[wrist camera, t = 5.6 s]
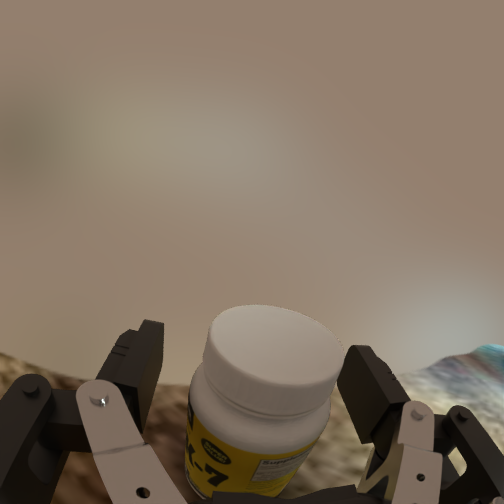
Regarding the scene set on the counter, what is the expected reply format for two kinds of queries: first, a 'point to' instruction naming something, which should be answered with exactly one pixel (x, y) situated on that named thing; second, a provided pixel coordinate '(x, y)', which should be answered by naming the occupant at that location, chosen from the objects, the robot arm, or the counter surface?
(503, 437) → the counter surface
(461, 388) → the counter surface
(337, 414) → the counter surface
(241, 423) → the supplement bottle
